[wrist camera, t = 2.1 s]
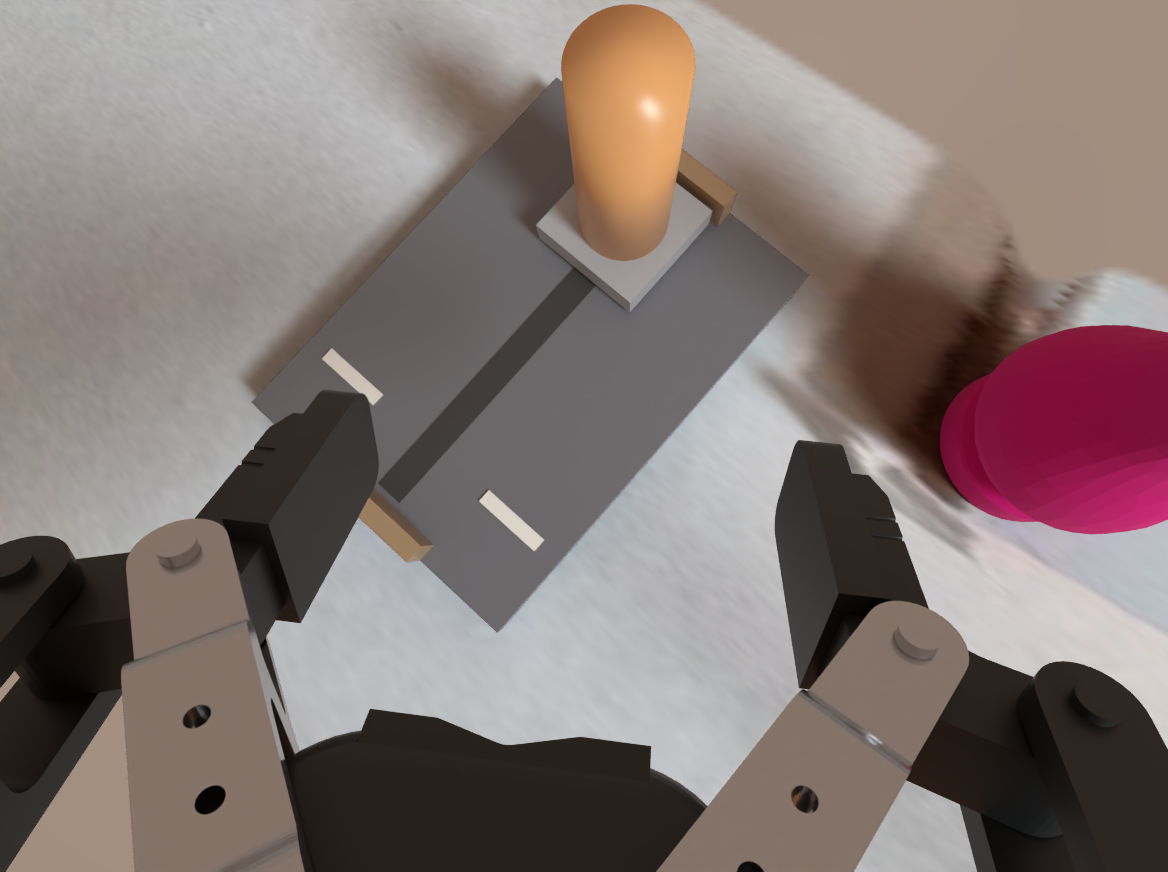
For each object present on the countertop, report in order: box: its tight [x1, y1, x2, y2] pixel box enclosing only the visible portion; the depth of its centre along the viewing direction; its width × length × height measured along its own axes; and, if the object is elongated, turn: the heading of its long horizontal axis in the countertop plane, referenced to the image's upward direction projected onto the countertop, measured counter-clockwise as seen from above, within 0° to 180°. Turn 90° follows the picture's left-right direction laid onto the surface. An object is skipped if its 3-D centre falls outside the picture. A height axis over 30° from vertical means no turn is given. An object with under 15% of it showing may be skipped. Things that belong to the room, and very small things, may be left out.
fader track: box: [252, 78, 809, 632], centre depth 28 cm, size 14×19×3 cm
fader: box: [536, 4, 712, 313], centre depth 23 cm, size 5×5×10 cm
